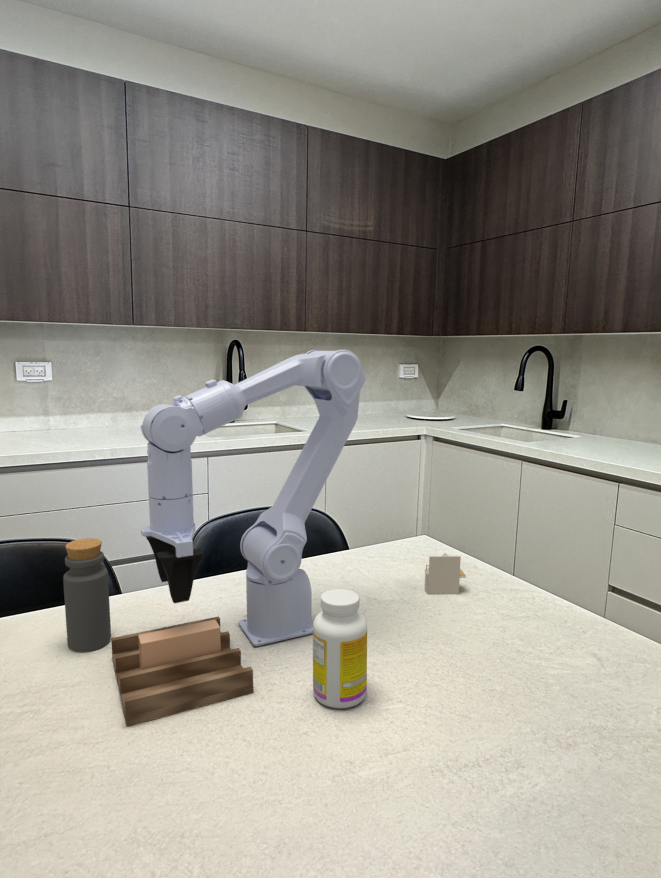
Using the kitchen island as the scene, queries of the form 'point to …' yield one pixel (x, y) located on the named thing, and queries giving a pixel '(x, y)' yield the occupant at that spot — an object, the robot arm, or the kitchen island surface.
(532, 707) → the kitchen island surface
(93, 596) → the bottle
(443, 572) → the architectural model
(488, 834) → the kitchen island surface
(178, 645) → the peach rectangular block
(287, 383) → the robot arm
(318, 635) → the supplement bottle
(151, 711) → the rack
